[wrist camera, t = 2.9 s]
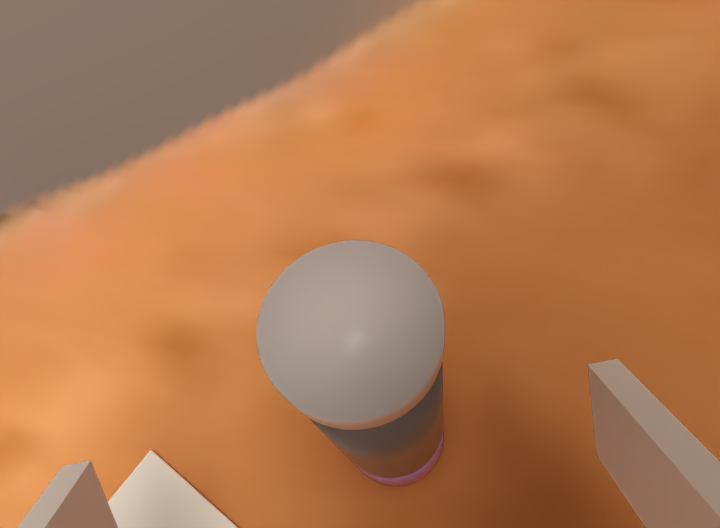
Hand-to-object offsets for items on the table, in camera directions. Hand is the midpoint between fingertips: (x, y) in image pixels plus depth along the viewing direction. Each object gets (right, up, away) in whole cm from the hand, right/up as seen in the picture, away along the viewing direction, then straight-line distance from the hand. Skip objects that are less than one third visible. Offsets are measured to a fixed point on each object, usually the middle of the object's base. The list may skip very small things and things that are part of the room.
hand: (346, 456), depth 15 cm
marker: (+2, -1, +7) cm, 7 cm away
